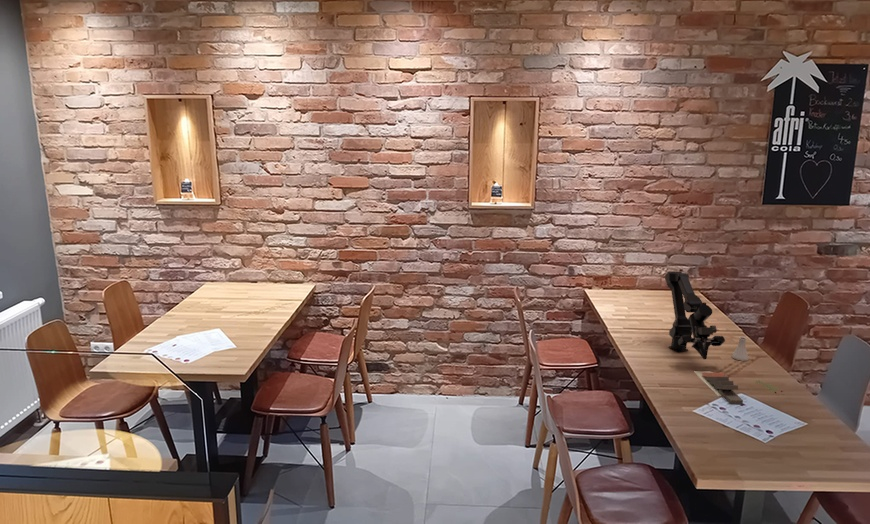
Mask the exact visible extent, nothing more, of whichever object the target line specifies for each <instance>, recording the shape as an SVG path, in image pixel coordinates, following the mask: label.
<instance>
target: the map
mask: <svg viewBox="0 0 870 524" xmlns="http://www.w3.org/2000/svg"><path fill="white" fill-rule="evenodd" d="M755 384H758V385H762V386H764V388H766V389H767V390H768V391H769V392H771V393H772V392H773V391H776V390H779V389H780V388H779V387H776V386H774V385H772V384H770V383H764V382H762V381H760V380H755Z"/></svg>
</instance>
